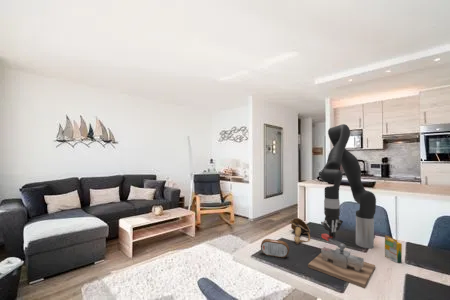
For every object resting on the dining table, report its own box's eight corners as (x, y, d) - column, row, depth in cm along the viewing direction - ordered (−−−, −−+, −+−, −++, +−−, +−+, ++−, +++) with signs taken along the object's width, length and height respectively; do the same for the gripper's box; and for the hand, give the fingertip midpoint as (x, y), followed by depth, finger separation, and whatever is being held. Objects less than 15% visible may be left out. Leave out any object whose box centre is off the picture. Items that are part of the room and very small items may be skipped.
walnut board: (324, 252, 125) (324, 249, 125) (375, 268, 108) (375, 265, 108) (308, 267, 109) (308, 264, 109) (364, 288, 93) (364, 284, 93)
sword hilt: (313, 224, 155) (292, 214, 160) (314, 236, 132) (290, 224, 137) (307, 237, 156) (287, 226, 161) (307, 251, 133) (283, 238, 138)
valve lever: (321, 240, 122) (321, 233, 122) (326, 240, 122) (326, 233, 122) (341, 252, 107) (341, 245, 107) (346, 252, 108) (346, 244, 108)
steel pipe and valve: (324, 256, 117) (324, 244, 117) (364, 269, 105) (364, 256, 105) (320, 260, 113) (320, 248, 113) (361, 274, 100) (361, 260, 100)
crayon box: (402, 262, 114) (402, 240, 114) (397, 263, 114) (397, 240, 114) (389, 256, 121) (389, 234, 121) (384, 256, 121) (384, 235, 121)
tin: (289, 256, 120) (289, 241, 120) (288, 259, 117) (288, 243, 117) (261, 252, 125) (261, 237, 125) (260, 255, 122) (260, 239, 122)
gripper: (336, 203, 126) (336, 234, 126) (316, 205, 122) (317, 237, 122) (347, 206, 119) (347, 239, 119) (327, 209, 114) (327, 243, 114)
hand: (332, 238), depth 120 cm, fingers closed
